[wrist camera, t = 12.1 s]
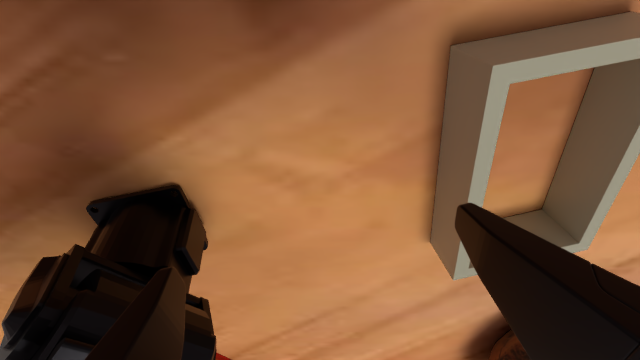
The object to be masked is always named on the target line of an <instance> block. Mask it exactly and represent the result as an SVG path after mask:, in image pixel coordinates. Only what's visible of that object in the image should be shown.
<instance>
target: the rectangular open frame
mask: <svg viewBox="0 0 640 360" xmlns="http://www.w3.org/2000/svg"><path fill="white" fill-rule="evenodd" d="M593 67H595V68H594V71H593V74H592V76H591V79H590V82H589V85H588V87H587V90H586V93H585V95H584V98H583V101H582V103H581V106H580V109H579V111H578V114H577V117H576V119H575V122H574V125H573V127H572V130H571V133H570V135H569V138H568V141H567V143H566V146H565V149H564V151H563V154H562V157H561V160H560V162H559V165H558V168H557V170H556V173H555V176H554V178H553V181H552V184H551V186H550V189H549V192H548V194H547V197H546V200H545V202H544V205H543V208H542V210H537V211H533V212H528V213H524V214H519V215H515V216H510V217H506V218H503V219H505V220H507V221H509V222H511V223H513V224H515V225H517V226H519V227H521V228H523V229H525V230H527V231H529V232H531V233H533V234H535V235H537V236H539V237H541V238H543V239H545V240H547V241H549V242H551V243H553V244H555V245H557V246H559V247H561V248H563V249H565V250H567V251H569V252H571V253H575V252H580V251H584V250H588V248H589V246H590V244H591V242H592V240H593V239H594V237H595V235H596V233H597V231H598V229H599V227H600V226H601V224H602V222H603V220H604V218H605V216H606V214H607V213H608V211H609V209H610V207H611V205H612V203H613V202H614V200H615V198H616V196H617V194H618V192H619V190H620V189H621V187H622V185H623V183H624V181H625V179H626V177H627V176H628V174H629V172H630V170H631V168H632V166H633V165H634V163H635V161H636V159H637V157H638V155H639V153H640V13H637V12H627V13H622V14H616V15H611V16H606V17H600V18H595V19H590V20H584V21H579V22H574V23H568V24H563V25H558V26H552V27H547V28H542V29H537V30H531V31H526V32H521V33H515V34H510V35H505V36H499V37H494V38H489V39H483V40H478V41H473V42H467V43H462V44H457V45H452V46H451V49H450V59H449V68H448V78H447V87H446V97H445V107H444V116H443V126H442V135H441V145H440V154H439V164H438V174H437V183H436V193H435V202H434V212H433V221H432V231H431V241H430V243H431V244H432V246H433V248H434V249H435V251H436V253H437V254H438V256H439V258H440V259H441V261H442V263H443V264H444V266H445V268H446V269H447V271H448V273H449V274H450V276H451V278H452V279H453V280H457V279H462V278H466V277H470V276H475V275H478V274H477V273H476V271H475V269H474V267H473V265H472V263H471V261H470V259H469V257H468V255H467V253H466V250H465V248H464V246H463V244H462V242H461V240H460V238H459V236H458V234H457V232H456V229H455V217H456V211H457V207H458V206H459V205H461V204H465V203H473V204H476V205H477V206H479V207H481V208H482V206H483V201H484V197H485V192H486V188H487V183H488V179H489V174H490V170H491V165H492V161H493V156H494V152H495V148H496V143H497V139H498V134H499V130H500V125H501V121H502V116H503V112H504V107H505V103H506V98H507V94H508V89H509V85H510V84H512V83H517V82H522V81H527V80H532V79H537V78H542V77H547V76H552V75H557V74H562V73H568V72H573V71H578V70H583V69H588V68H593Z"/></svg>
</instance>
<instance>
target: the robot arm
mask: <svg viewBox="0 0 640 360" xmlns="http://www.w3.org/2000/svg"><path fill="white" fill-rule="evenodd" d="M171 191H175V192H177V193H172V192H171ZM93 207H95V208H97V209H95V208H93ZM86 210H87V212H88V213H89V214H90V216H91V217H92V218H93V220H94V221H95V222H96V224H97V225H98V226H97V228H96V229H95V231H94V233H93V235H92V236H91V238H90V240H89V242H88V243H87V245H86V247H85V248H84V247H82V246H79V245H77V244H75V245H74V246H73V247H72V248H71V249H70V250H69V251H68V252H67V253H64V254H63V255H62V256H61V255H59V256H56V257H43V258H42V259H41V260H40V261H39V263H38V264H37V265H36V266H35V268H34V269H33V271H32V272H31V274H30V275H29V277H28V278H27V279H26V281H25V282H24V284H23V285H22V287H21V288H20V290H19V291H18V293H17V295H16V297H15V298H14V300H13V302H12V304H11V306H10V308H9V310H8V312H7V314H6V316H5V318H4V320H3V322H2V327H3V331H4V337H3V340H2V343H1V346H0V360H216V336H215V335H214V331H213V325H212V319H211V313H210V307H209V302H208V300H207V299H204V298H202V297H200V298H198V297H196V296H193V295H191V294H189V288H190V283H191V278H192V275H196V274H197V273H198V272H199V270H200V264H201V259H202V253H203V250H206V249H207V247H208V241H207V239H206V237H205V236H206V231H205V229H204V227H203V225H202V223H201V221H200V219H199V217H198V214H197V212H196V210H195V209H193V208H191V207H190V205H189V203H188V201H187V199H186V197H185V195H184V193H183V191H182V189H181V188H180V187H179V186H177V185H170V186H165V187H160V188H155V189H150V190H145V191H140V192H135V193H130V194H125V195H121V196H116V197H111V198H106V199H101V200H96V201H92V202H90V203H89V204H88V206H87V208H86ZM455 229H456V232H457V234H458V236H459V238H460V240H461V242H462V244H463V246H464V248H465V250H466V253H467V255H468V257H469V259H470V261H471V263H472V265H473V267H474V269H475V271H476V273H477V274H478V276H479V278H480V279H481V281H482V282H483V284H484V286H485V287H486V289H487V290H488V292H489V294H490V295H491V297H492V298H493V300H494V302H495V303H496V305H497V306H498V308H499V310H500V311H501V313H502V314H503V316H504V318H505V319H506V321H507V322H508V324H509V326H510V327H511V329H512V330H513V332H514V334H515V335H516V337H517V338H518V340H519V342H520V343H521V345H522V346H523V348H524V350H525V351H526V353H527V354H528V356H529V358H530V359H531V360H640V286H638V285H636V284H634V283H631V282H629V281H627V280H625V279H623V278H621V277H619V276H617V275H615V274H613V273H611V272H609V271H607V270H605V269H603V268H601V267H599V266H597V265H595V264H591V263H590V262H589V261H587V260H585V259H583V258H581V257H579V256H577V255H575V254H573V253H571V252H569V251H567V250H565V249H563V248H561V247H559V246H557V245H555V244H553V243H551V242H549V241H547V240H545V239H543V238H541V237H539V236H537V235H535V234H533V233H531V232H529V231H527V230H525V229H523V228H521V227H519V226H517V225H515V224H513V223H511V222H509V221H507V220H505V219H503V218H501V217H499V216H497V215H495V214H493V213H491V212H489V211H487V210H485V209H483V208H481V207H479V206H477V205H476V204H473V203H465V204H461V205H459V206H458V207H457V211H456V217H455Z"/></svg>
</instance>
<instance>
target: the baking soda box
mask: <svg viewBox="0 0 640 360" xmlns="http://www.w3.org/2000/svg"><path fill="white" fill-rule="evenodd" d="M216 360H231V359H229V358H227V357H225V356H222V355H220V354H218V353H216Z"/></svg>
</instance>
